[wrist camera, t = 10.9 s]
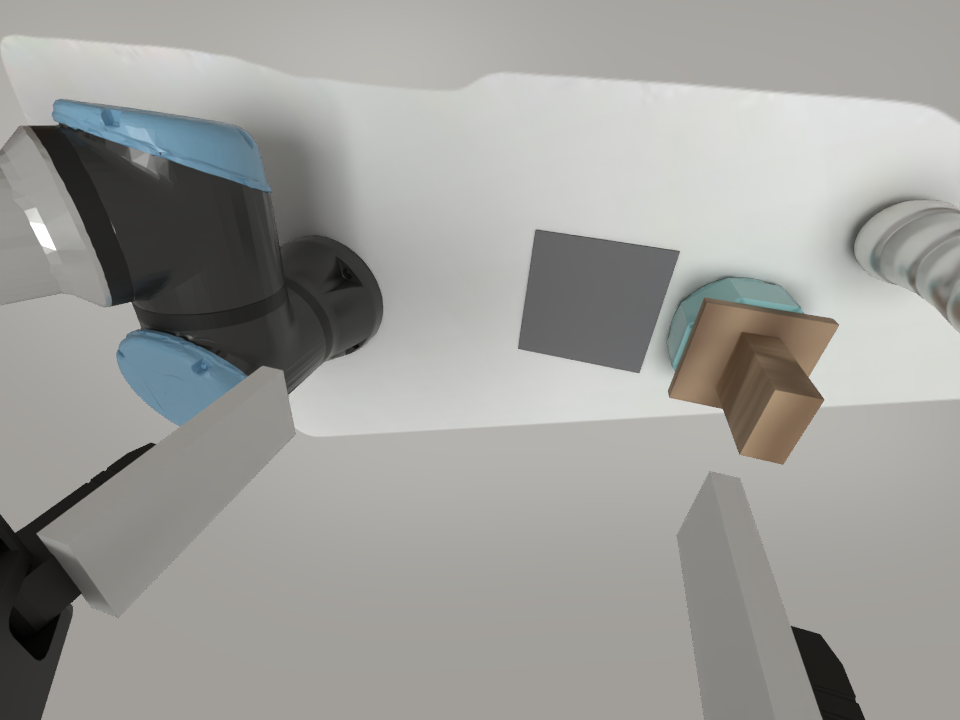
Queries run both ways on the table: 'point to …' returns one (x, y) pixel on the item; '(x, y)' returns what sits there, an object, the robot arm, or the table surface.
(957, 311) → the plastic bottle
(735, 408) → the cover lid
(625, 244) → the mat
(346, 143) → the table surface
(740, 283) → the bowl
